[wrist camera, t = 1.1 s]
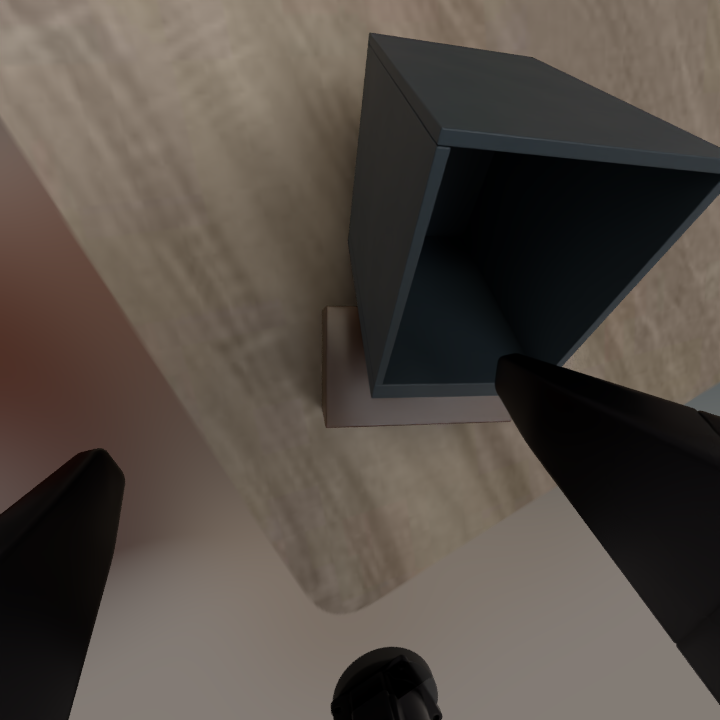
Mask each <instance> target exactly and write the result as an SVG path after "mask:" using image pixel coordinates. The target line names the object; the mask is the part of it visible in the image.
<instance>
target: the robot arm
mask: <svg viewBox="0 0 720 720" xmlns="http://www.w3.org/2000/svg"><path fill="white" fill-rule="evenodd" d="M494 385H495V390H496V392H497V394H498V396H499V398H500V399H501V401H502V403H503V404H504V406H505V408H506V409H507V411H508V413H509V415H510V416H511V418H512V420H513V421H514V423H515V425H516V427H517V428H518V430H519V432H520V433H521V435H522V437H523V438H524V440H525V441H526V443H527V444H528V446H529V447H530V449H531V450H532V451H533V453H534V454H535V455H536V457H537V458H538V459H539V461H540V462H541V464H542V465H543V466H544V468H545V469H546V470H547V472H548V473H549V474H550V476H551V477H552V478H553V480H554V481H555V482H556V484H557V485H558V487H559V488H560V489H561V490H562V492H563V493H564V495H565V496H566V497H567V499H568V500H569V501H570V503H571V504H572V505H573V507H574V508H575V509H576V511H577V512H578V514H579V515H580V516H581V518H582V519H583V520H584V522H585V523H586V524H587V526H588V527H589V528H590V530H591V531H592V532H593V534H594V535H595V536H596V538H597V539H598V540H599V542H600V543H601V544H602V546H603V547H604V549H605V550H606V551H607V553H608V554H609V555H610V557H611V558H612V560H613V561H614V562H615V564H616V565H617V566H618V568H619V569H620V570H621V572H622V573H623V574H624V575H625V577H626V578H627V580H628V581H629V582H630V584H631V585H632V587H633V588H634V589H635V590H636V592H637V593H638V594H639V596H640V597H641V599H642V600H643V601H644V603H645V604H646V605H647V607H648V608H649V609H650V611H651V612H652V614H653V615H654V616H655V618H656V619H657V620H658V622H659V623H660V624H661V626H662V627H663V628H664V630H665V631H666V632H667V634H668V635H669V636H670V638H671V639H672V641H673V642H674V643H676V646H677V648H678V649H679V650H680V652H681V653H682V655H683V656H684V657H685V658H686V660H687V661H688V663H689V664H690V665H691V667H692V668H693V669H694V671H695V672H696V674H697V675H698V676H699V678H700V679H701V680H702V682H703V683H704V684H705V686H706V687H707V688H708V690H709V691H710V692H711V694H712V695H713V696H714V698H715V699H716V701H717V702H718V703H719V705H720V416H717V415H713V414H710V413H707V412H704V411H697V410H695V409H694V408H690V407H688V406H684V405H681V404H678V403H675V402H672V401H669V400H665V399H662V398H659V397H656V396H653V395H649V394H646V393H643V392H640V391H637V390H633V389H630V388H627V387H624V386H621V385H618V384H614V383H611V382H608V381H605V380H602V379H598V378H595V377H592V376H589V375H586V374H583V373H579V372H576V371H573V370H570V369H567V368H563V367H560V366H557V365H554V364H551V363H547V362H544V361H541V360H538V359H535V358H532V357H528V356H525V355H522V354H519V353H512V354H507V355H503V356H501V357H500V358H499V359H498V362H497V368H496V375H495V382H494ZM124 487H125V478H124V474H123V472H122V470H121V469H120V468H119V467H118V465H117V464H116V462H115V461H114V460H113V459H112V457H111V456H110V455H109V453H108V452H107V451H106V450H104V449H102V448H97V449H93V450H88V451H84V452H81V453H78V454H77V455H75V456H74V457H73V458H72V459H70V460H69V461H68V462H66V463H65V464H64V465H63V466H61V467H60V468H59V469H58V470H56V471H55V472H54V473H52V474H51V475H50V476H49V477H48V478H46V479H45V480H44V481H42V482H41V483H40V484H38V485H37V486H36V487H35V488H33V489H32V490H31V491H30V492H28V493H27V494H26V495H24V496H23V497H22V498H21V499H19V500H18V501H17V502H16V503H14V504H13V505H12V506H11V507H9V508H8V509H7V510H5V511H4V512H3V513H2V514H0V720H68V719H69V716H70V712H71V708H72V705H73V701H74V697H75V694H76V690H77V687H78V683H79V679H80V676H81V672H82V668H83V665H84V661H85V657H86V654H87V650H88V646H89V643H90V639H91V635H92V632H93V628H94V624H95V621H96V617H97V614H98V609H99V606H100V602H101V599H102V595H103V592H104V587H105V584H106V581H107V577H108V573H109V569H110V566H111V562H112V558H113V554H114V549H115V543H116V537H117V531H118V525H119V518H120V512H121V506H122V500H123V494H124ZM401 663H402V664H401ZM331 714H332V715H333V717H334V718H335V720H441V719H442V713H441V711H440V708H439V706H438V705H437V703H436V702H435V700H434V698H433V697H432V695H431V694H430V692H429V691H428V689H427V688H426V686H425V684H424V683H423V681H422V680H421V678H420V677H419V675H418V673H417V672H416V670H415V669H414V667H413V666H412V664H411V663H410V661H409V659H408V658H407V656H405V655H399V656H397V657H396V658H394V659H393V660H391V661H390V662H388V663H387V664H385V665H384V666H382V667H381V668H379V669H378V670H377V671H375V672H374V673H372V674H371V675H369V676H368V677H366V678H365V679H363V680H362V681H360V682H359V683H357V684H356V685H354V686H353V687H352V688H350V689H349V690H347V691H346V692H344V693H343V694H341V695H340V696H338V697H337V698H335V699H334V700H333V701H332V702H331Z"/></svg>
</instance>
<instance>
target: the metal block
mask: <svg viewBox="0 0 720 720" xmlns="http://www.w3.org/2000/svg"><path fill="white" fill-rule="evenodd" d="M322 411H323V416H324V421H325V426H326V428H340V427H369V426H398V425H427V424H456V423H485V422H510V421H511V416H510V415H509V413H508V411H507V409H506V408H505V406H504V404H503V403H502V401H501V399H500V398H499V396H460V397H413V398H371V394H370V387H369V380H368V374H367V367H366V360H365V353H364V347H363V340H362V333H361V326H360V320H359V313H358V306H326V307H325V308H324V309H323V310H322Z"/></svg>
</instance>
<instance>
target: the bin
mask: <svg viewBox="0 0 720 720" xmlns="http://www.w3.org/2000/svg"><path fill="white" fill-rule="evenodd" d="M719 194H720V147H718V146H716V145H714V144H712V143H709V142H707V141H705V140H703V139H701V138H699V137H697V136H695V135H693V134H691V133H689V132H687V131H685V130H683V129H680V128H678V127H676V126H674V125H672V124H670V123H668V122H666V121H664V120H662V119H660V118H658V117H656V116H654V115H651V114H649V113H647V112H645V111H643V110H641V109H639V108H637V107H635V106H633V105H631V104H629V103H627V102H624V101H622V100H620V99H618V98H616V97H614V96H612V95H610V94H608V93H606V92H604V91H602V90H600V89H598V88H595V87H593V86H591V85H589V84H587V83H585V82H583V81H581V80H579V79H577V78H575V77H573V76H571V75H568V74H566V73H564V72H562V71H560V70H558V69H556V68H554V67H552V66H550V65H548V64H546V63H544V62H542V61H539V60H537V59H535V58H533V57H527V56H521V55H514V54H508V53H501V52H494V51H488V50H481V49H475V48H468V47H462V46H455V45H448V44H442V43H435V42H429V41H422V40H416V39H409V38H402V37H396V36H389V35H383V34H376V33H369V40H368V50H367V60H366V69H365V79H364V89H363V99H362V109H361V118H360V128H359V138H358V148H357V157H356V167H355V177H354V187H353V197H352V206H351V216H350V226H349V228H350V229H349V236H348V245H349V252H350V259H351V265H352V272H353V279H354V286H355V293H356V299H357V306H358V313H359V320H360V326H361V333H362V340H363V347H364V353H365V360H366V367H367V374H368V380H369V387H370V394H371V398H413V397H460V396H498V394H497V392H496V390H495V385H494V382H495V375H496V368H497V362H498V359H499V358H500V357H501V356H503V355H507V354H512V353H519V354H522V355H525V356H528V357H532V358H535V359H538V360H541V361H544V362H547V363H551V364H554V365H557V366H560V367H562V366H563V365H564V364H565V362H566V361H567V360H568V359H569V358H570V357H571V356H572V355H573V354H574V353H575V352H576V350H577V349H578V348H579V347H580V346H581V345H582V344H583V343H584V342H585V341H586V339H587V338H588V337H589V336H590V335H591V334H592V333H593V332H594V331H595V330H596V329H597V327H598V326H599V325H600V324H601V323H602V322H603V321H604V320H605V319H606V318H607V316H608V315H609V314H610V313H611V312H612V311H613V310H614V309H615V308H616V307H617V306H618V304H619V303H620V302H621V301H622V300H623V299H624V298H625V297H626V296H627V295H628V294H629V292H630V291H631V290H632V289H633V288H634V287H635V286H636V285H637V284H638V283H639V281H640V280H641V279H642V278H643V277H644V276H645V275H646V274H647V273H648V272H649V271H650V269H651V268H652V267H653V266H654V265H655V264H656V263H657V262H658V261H659V260H660V258H661V257H662V256H663V255H664V254H665V253H666V252H667V251H668V250H669V249H670V248H671V246H672V245H673V244H674V243H675V242H676V241H677V240H678V239H679V238H680V237H681V236H682V234H683V233H684V232H685V231H686V230H687V229H688V228H689V227H690V226H691V225H692V223H693V222H694V221H695V220H696V219H697V218H698V217H699V216H700V215H701V214H702V213H703V211H704V210H705V209H706V208H707V207H708V206H709V205H710V204H711V203H712V202H713V200H714V199H715V198H716V197H717V196H718V195H719Z"/></svg>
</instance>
